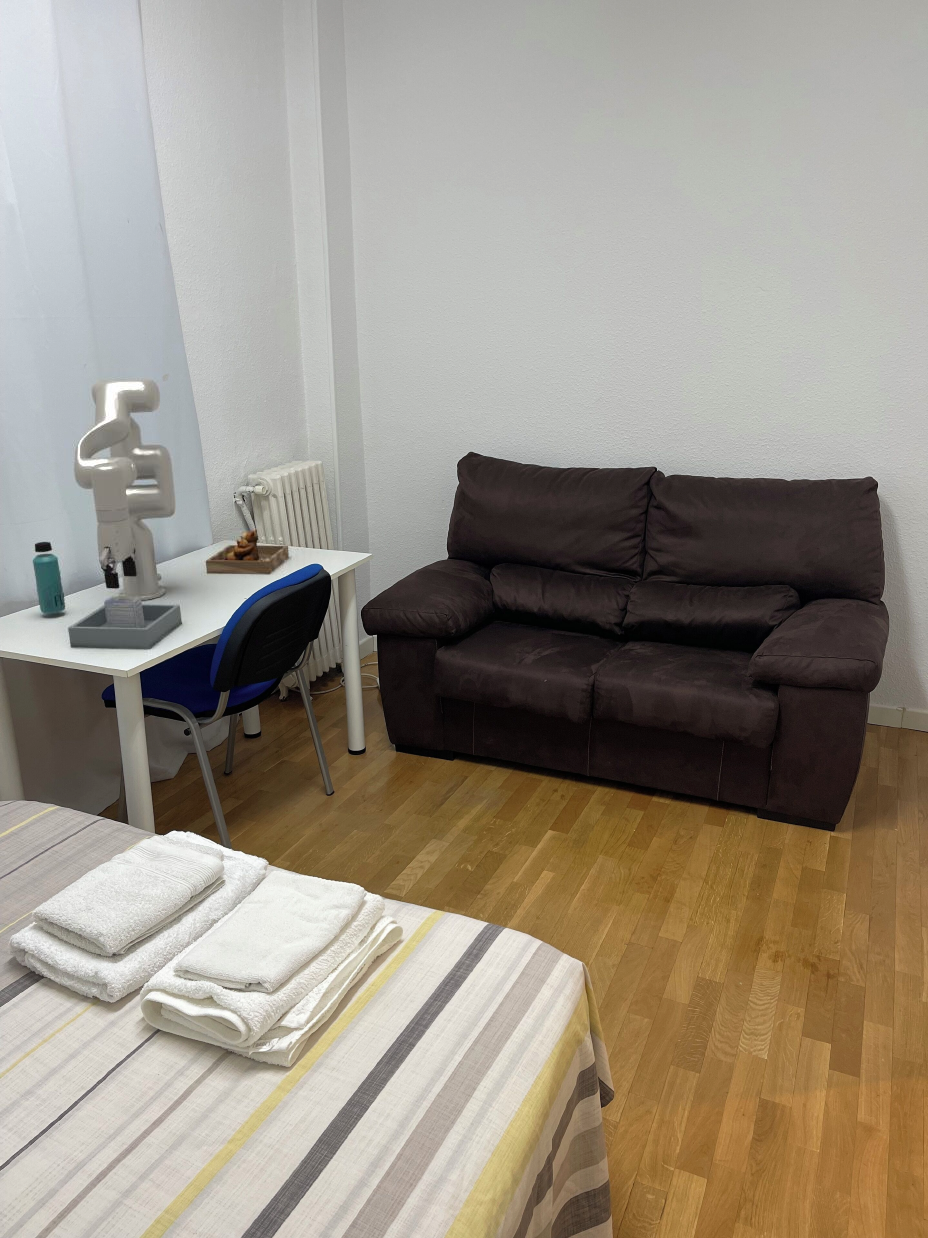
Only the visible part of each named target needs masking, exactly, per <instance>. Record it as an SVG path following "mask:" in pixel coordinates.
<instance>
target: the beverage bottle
mask: <svg viewBox="0 0 928 1238" xmlns="http://www.w3.org/2000/svg"><path fill="white" fill-rule="evenodd" d="M52 550H53V548H52V544H51V542H50V541H39V542H37V543H35V544H34V551H35V552H36V553H41V554H37V555H36V556H35V557H34V558H33V559H32V564H33V565H32V566H33V571H34V576H35V582H36V583H35V584H36V592H37V597H38V605H39V610H40V611H41V613H43V614H55V613H60V612H63V611H64V610H65V609H66V599H65V593H64V590H63V583H62V576H61V570H60V565H59V558H58V556H56V555H55V554H53V553H47V552H50V551H52Z"/></svg>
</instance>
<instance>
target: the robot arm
mask: <svg viewBox="0 0 928 1238" xmlns="http://www.w3.org/2000/svg"><path fill="white" fill-rule="evenodd" d="M91 396H92V400H93V403H94V406H95V413H94V414H95V415H94V418H95V419H94V426H92V427H91V428H90V429H88V430H87V432H86V433H84V434H83V436H81V438H80V439H79V441H78V442H77V444H76V447H75V449H74V450H75V451H74V466H73V468H74V469H73V473H74V474H73V475H74V479H75V482H76V483H77V485H78V486H79V487H80V488H82V489H84V490H92V494H93V501H94V510H95V515H96V522H97V525H96V526H97V528H96V531H97V532H96V535H97V536H96V541H97V552H98V562H99V564H100V569H101V570H102V573H103V574H104V582H105V587H106V589H113V590H114V589H115V590H116V589H117V590H118V589H119V588H120V587H121V585H120V578H119V573H118V572H117V568H118V564H119V563H120V568H121V569H120V570H121V577H122V584H123V585H122V586H123V589H122V590H120V591H119V592H118V596H133V597H141V601H147V600H152V599H156V598H160V597H162V596H164V594H165V593H166V590H165V587H163V586H161V585H159V581H160V580H162V578H163V577H162V575H161V574H160V573H158V571H157V562H156V561H157V559H156V553H155V551H156V550H155V543H154V537H153V536H154V535H153V532H152V530H151V529H150V527H149V526H148V525H146V523H145V522H143V520H147V519H149V520H150V519H151V520H153V519H166V518H170V517H172V516H174V514H175V512H176V494H175V485H174V475H173V474H174V473H173V472H174V471H173V465H172V458H171V454H170V452H169V450H168V448H167V447H166V446H164V445H162V444H145V445H144V444H143V442H142V435H141V434H142V433H141V428H140V425H139V424H138V422H137V421H136V420H135V419H134V418H133V417H132V416H131V414H133V413H134V414H135V413H137V414H138V413H139V414H140V413H153V412H155V411H156V410H158V408H159V407H160V403H161V400H160V399H161V395H160V390H159V387H158V384H157V382H155V381H154V379H149V378H148V379H147V378H146V379H140V378H139V379H111V380H102V381H98V382H95V383H94V384H93V385H92V387H91ZM108 448H109V452H110V453H109V454H110V456H108V457H107V456H105V457H93V456H94V455H96V454H98V453H99V452H101V451H103V450H106V449H108ZM145 480H153V481H155V482H156V483H152V484H151V483H149V484H134V483H135V481H145ZM111 565H112V566H111Z"/></svg>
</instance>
